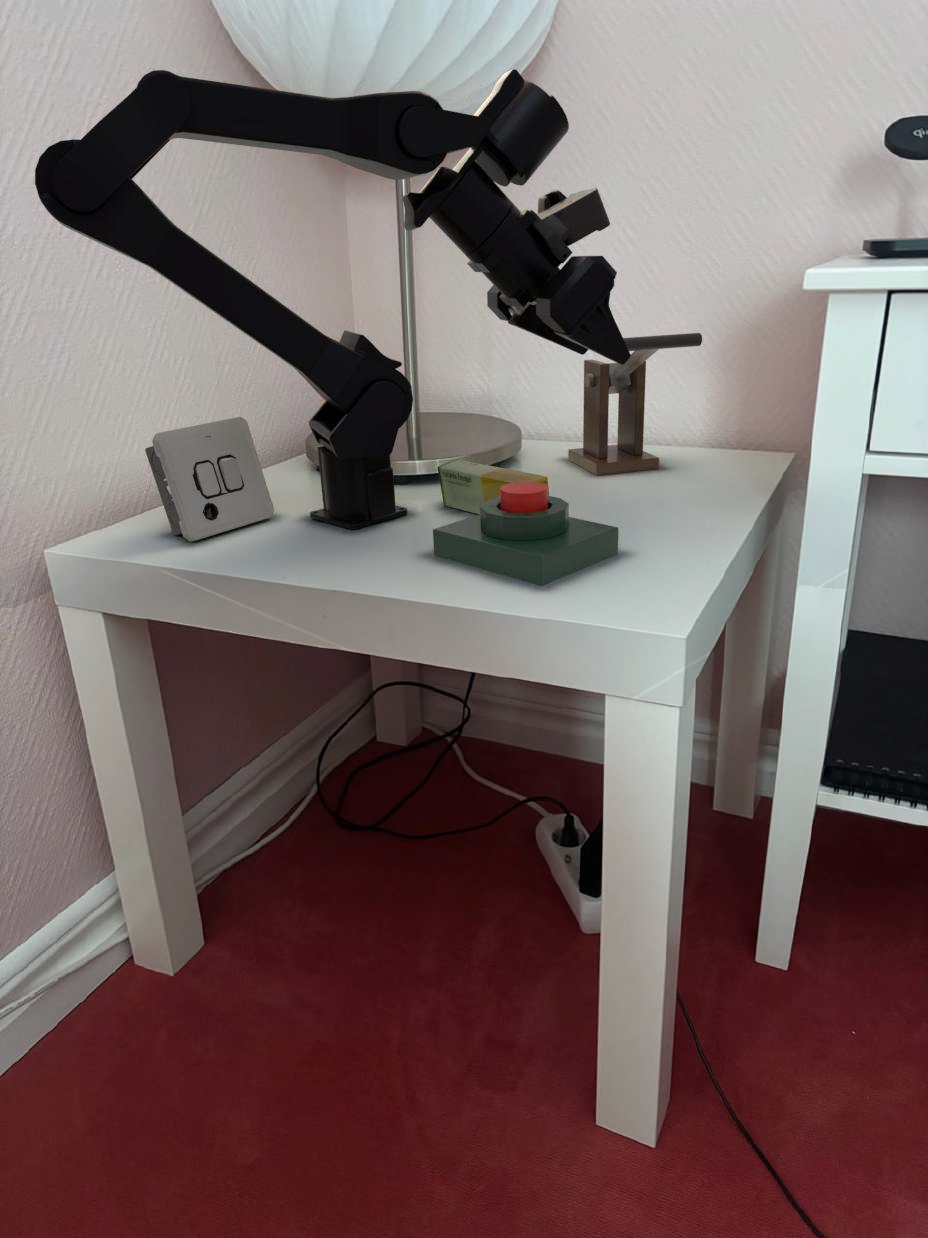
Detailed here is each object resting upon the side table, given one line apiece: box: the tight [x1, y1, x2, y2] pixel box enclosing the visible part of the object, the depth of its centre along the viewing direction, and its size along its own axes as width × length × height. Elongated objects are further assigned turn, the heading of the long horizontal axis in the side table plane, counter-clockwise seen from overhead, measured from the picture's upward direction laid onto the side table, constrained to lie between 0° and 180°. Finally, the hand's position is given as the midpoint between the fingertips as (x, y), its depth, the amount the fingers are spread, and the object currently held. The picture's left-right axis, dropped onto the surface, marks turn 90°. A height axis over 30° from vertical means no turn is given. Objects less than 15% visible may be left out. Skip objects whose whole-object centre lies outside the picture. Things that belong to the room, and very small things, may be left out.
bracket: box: [567, 359, 660, 476], centre depth 95 cm, size 8×7×11 cm
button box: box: [432, 495, 620, 587], centre depth 69 cm, size 11×9×4 cm
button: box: [500, 482, 549, 513], centre depth 68 cm, size 4×4×2 cm
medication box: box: [437, 458, 550, 515], centre depth 80 cm, size 12×3×4 cm, turn 41°
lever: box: [608, 332, 703, 395], centre depth 89 cm, size 12×9×2 cm
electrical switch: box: [144, 416, 275, 542], centre depth 79 cm, size 9×5×9 cm, turn 141°
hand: (605, 355), depth 84 cm, fingers open, 9 cm apart
